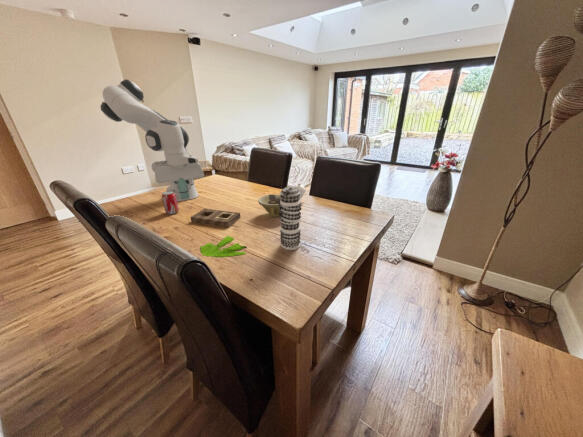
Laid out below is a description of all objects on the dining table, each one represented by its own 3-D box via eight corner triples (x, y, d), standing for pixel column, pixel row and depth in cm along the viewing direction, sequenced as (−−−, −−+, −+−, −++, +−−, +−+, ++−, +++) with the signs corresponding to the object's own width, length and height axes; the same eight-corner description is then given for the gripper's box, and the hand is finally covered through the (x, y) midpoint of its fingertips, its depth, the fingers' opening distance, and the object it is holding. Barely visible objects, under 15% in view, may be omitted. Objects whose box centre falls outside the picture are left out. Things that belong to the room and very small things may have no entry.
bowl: (288, 222, 120) (288, 205, 116) (255, 220, 123) (253, 203, 119) (294, 209, 136) (294, 194, 131) (265, 207, 139) (264, 192, 135)
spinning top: (298, 198, 153) (298, 180, 148) (307, 200, 149) (308, 182, 144) (290, 201, 148) (290, 183, 143) (300, 204, 143) (300, 185, 138)
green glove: (192, 249, 99) (191, 244, 98) (237, 231, 113) (236, 227, 112) (216, 270, 86) (215, 264, 85) (263, 247, 100) (262, 242, 99)
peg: (178, 198, 110) (173, 178, 106) (184, 195, 114) (180, 175, 110) (185, 199, 109) (181, 178, 105) (191, 196, 113) (187, 176, 109)
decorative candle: (282, 251, 95) (280, 193, 85) (277, 240, 103) (275, 186, 93) (303, 248, 98) (304, 191, 87) (297, 237, 106) (297, 184, 95)
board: (191, 222, 121) (190, 216, 120) (205, 213, 132) (204, 208, 131) (228, 227, 116) (228, 221, 114) (240, 217, 126) (239, 212, 125)
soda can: (163, 213, 132) (157, 193, 127) (173, 209, 138) (169, 189, 133) (171, 216, 129) (166, 195, 124) (182, 211, 135) (177, 191, 130)
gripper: (150, 163, 97) (158, 194, 103) (201, 158, 106) (206, 188, 111) (150, 160, 102) (158, 190, 108) (199, 156, 111) (204, 184, 117)
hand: (183, 189), depth 110 cm, fingers closed on peg, 4 cm apart
